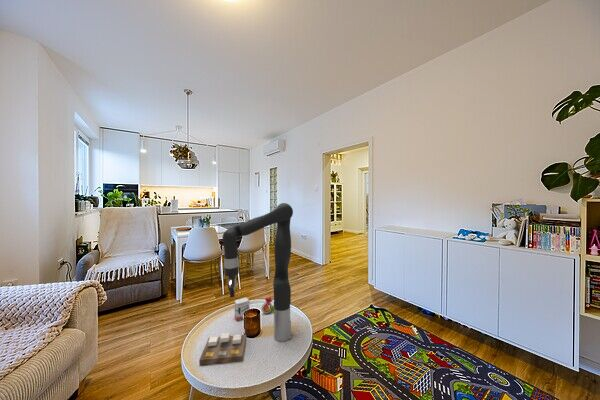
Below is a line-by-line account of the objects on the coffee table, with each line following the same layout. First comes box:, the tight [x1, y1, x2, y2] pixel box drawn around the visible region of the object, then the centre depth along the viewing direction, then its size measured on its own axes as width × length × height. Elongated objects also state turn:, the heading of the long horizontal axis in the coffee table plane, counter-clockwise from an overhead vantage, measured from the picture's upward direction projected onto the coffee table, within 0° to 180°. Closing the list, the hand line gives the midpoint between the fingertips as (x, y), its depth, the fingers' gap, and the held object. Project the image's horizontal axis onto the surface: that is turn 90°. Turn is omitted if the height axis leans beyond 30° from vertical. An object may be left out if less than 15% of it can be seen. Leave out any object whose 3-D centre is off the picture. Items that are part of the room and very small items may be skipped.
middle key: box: [220, 332, 231, 342], centre depth 118 cm, size 4×4×2 cm
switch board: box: [198, 334, 247, 367], centre depth 116 cm, size 20×16×3 cm
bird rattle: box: [261, 296, 274, 315], centre depth 151 cm, size 6×11×9 cm
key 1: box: [208, 336, 219, 346], centre depth 117 cm, size 4×4×2 cm
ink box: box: [234, 297, 250, 322], centre depth 146 cm, size 8×5×12 cm, turn 123°
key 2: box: [232, 334, 242, 344], centre depth 119 cm, size 4×4×2 cm
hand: (232, 296), depth 123 cm, fingers closed
